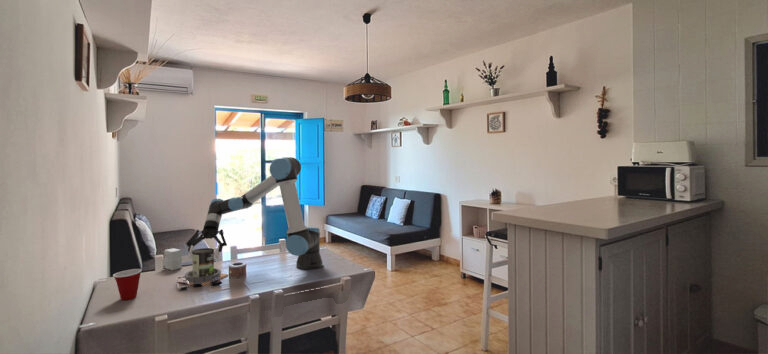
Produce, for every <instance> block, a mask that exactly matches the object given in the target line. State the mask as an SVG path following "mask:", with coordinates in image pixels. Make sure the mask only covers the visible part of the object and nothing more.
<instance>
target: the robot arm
mask: <svg viewBox="0 0 768 354" xmlns="http://www.w3.org/2000/svg"><path fill="white" fill-rule="evenodd" d="M301 169H302V164H301V163H300V161H299V159H297V158H295V157H288V156H287V157H283V156H282V157H277V158H274V160H273V161H272V162H271V163H270V165H269V173H270V176H268V177H266V179H263V181H261V182H260V183H258V184H257V185H255V186H254V187H252V188H251V189H249V190H248V191H247V192H245V193H244V194H243V195H240V196H234V197H231V198H228V199H225V200H223V199H222V198H214V199H211V202H210V204H209V207H208V211H207V214H206V218H205V220H204V221H205V222H204V225H203V229H202V230H199V229H196V231H195V233H194V234H193V235H192V236H191V237H190V238H189V239H188V240H187V242H186V243H185V244H186V246H187V247H188V250H187V252H188V255H187V257H188V259H189V260H191V259H192V251H193V250H195V247H196V245H198V244H199V243H200V242H202V241H204V240H205V239H206V240H207V239H214V240H215V241H216V243H217V248H216V251H215V254H214V257H215V258H216V259H219V255H220V253H222V251H223V247H227V245H228V244H227V242H226V238H225V236H224V230H223V229H220V230H219V228H220V224H221V220H222V216H223V215H225V214H228V213H232V212H236V211H240V210H246V209H249V208H251V207H253V205H254V203H256V202H257V201H259V200H260V199H262V198H263V197H265V196H266V195H267V194H269V193H271V192H273V190H275V189H277V188H278V187H279V189H280V194H281V199H282V204H283V208H284V213H285V217H286V222H287V227H288V229H287V232H286V236H287V238H286V241H285V248H286V251H288V253H289V254H291V255H292V256H298V257H297V259H296V263H295V265H296V268H297V269H301V270H316V269H319V268H321V266H322V267H323V259H322V256H321V253H320V245H321V243H320V241H321V240H320V238H321V237H320V236H321V232H320V228H319V227H316V226H306V225H305V222H304V219H303V212H302V207H301V204H300V203H301V202H300V199H299V194H298V190H297V185H296V183H297V181H298V176H299V174H300V173H301ZM218 234H219V235H220V237H221V240H222V241H221V240H220V238H219V237H218V236H217V235H218Z"/></svg>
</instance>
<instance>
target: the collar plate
mask: <svg viewBox="0 0 768 354" xmlns="http://www.w3.org/2000/svg"><path fill="white" fill-rule="evenodd" d="M214 273H216V274H213V275H209V276H204V277H193V269H192V270H190V271H187V272H186V273H185V274H184V278H185V279H186V280H188V281H189V283H190V284H189V285H193V284H194V282H202V284H201V285H202V286H201V287H206V286H209V285H211V284H210V282H211V280H212V279H214V278H216V277H219V279H220V280H223V279H225V278H228V277H229V274H228V273H222V270H221V269H219V268H216V267H214ZM178 280H179V279H177V280H176V282H177V281H178ZM193 286H194V285H193Z"/></svg>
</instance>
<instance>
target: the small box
mask: <svg viewBox="0 0 768 354" xmlns="http://www.w3.org/2000/svg"><path fill="white" fill-rule="evenodd" d="M163 252H164V253H163V254H164V269H167V270H169V269H170V270H171V271H174V270H176V271H177V270H178V269H179V270H180V269H182V268H183V266H182V265H183V263H182V261H183V260H182V249H178V248H168V249H164V251H163Z"/></svg>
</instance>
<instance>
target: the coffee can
mask: <svg viewBox="0 0 768 354" xmlns="http://www.w3.org/2000/svg"><path fill="white" fill-rule="evenodd" d="M191 259H192V260H191V261H192V262H191V263H192V270H193V277H204V276H209V275H213V274H214V268H215V249H214V248H209V247H207V248H206V247H205V248H197V249H194V250H193V251H192V257H191Z"/></svg>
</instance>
